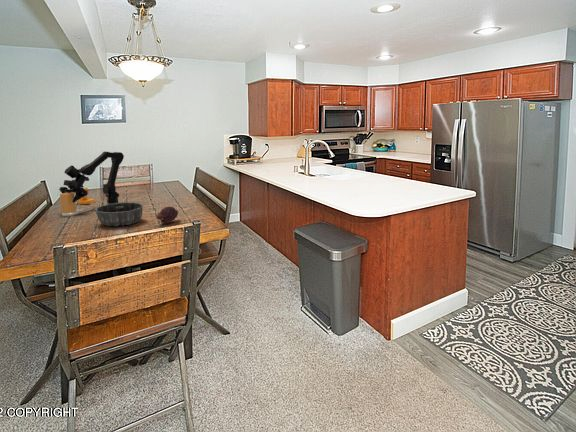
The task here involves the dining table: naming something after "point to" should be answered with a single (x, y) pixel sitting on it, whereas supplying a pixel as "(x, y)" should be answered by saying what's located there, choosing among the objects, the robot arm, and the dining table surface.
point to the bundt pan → (119, 213)
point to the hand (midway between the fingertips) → (67, 201)
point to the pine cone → (167, 215)
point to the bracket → (86, 199)
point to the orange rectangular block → (67, 203)
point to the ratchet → (77, 211)
